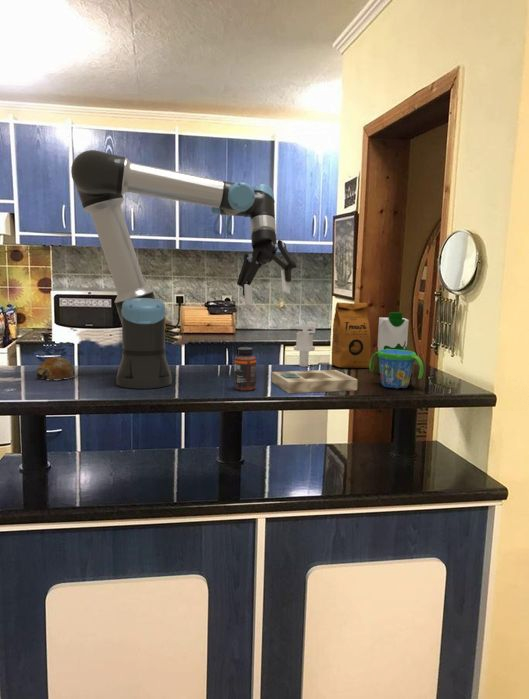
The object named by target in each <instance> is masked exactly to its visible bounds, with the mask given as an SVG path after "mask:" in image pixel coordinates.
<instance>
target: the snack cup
mask: <svg viewBox="0 0 529 699" xmlns="http://www.w3.org/2000/svg"><path fill="white" fill-rule="evenodd" d="M377 354H378V357H379V362H380V374H381V375H380V374H379V375H380V383H381V385H382V386H383V387H384V388H390V389H396V390H398V389H399V388H403V389H407V388H408V386H409V384H410V380H411V375H412V370H413V365H414V364H415V361H416V362H417V364H418V366H419V371H418V376H417V379H418V380H421V379H422V377H423V375H424V364H423V361H422V359H421V358H420V357H419V356H418V355H417V354H416V352H414V351H411V350H408V349H407V350H398V349H382V350H379V351H378V352H377V351H376V352H375V353H373V354H372V355H371V356H370V364H369V367H368V368H369V371H370V372H371V373H373V372H375V363H374V362H375V359H376V357H377Z"/></svg>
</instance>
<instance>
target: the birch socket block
mask: <svg viewBox="0 0 529 699" xmlns="http://www.w3.org/2000/svg"><path fill="white" fill-rule="evenodd" d="M271 383H273V384H274V385H275V386H277V387H278V388H280V389H281V390H283V391H285V392H286V393H287V394H304V393H324V392H327V393H328V392H329V393H330V392H349V391H358V379H357V378H355V377H352V376H350V375H349V374H346V373H344V372H341V371H339V370H336V369H323V370H321V369H320V370H290V371H287V370H286V371H272V372H271Z"/></svg>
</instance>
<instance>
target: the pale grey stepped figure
mask: <svg viewBox="0 0 529 699" xmlns="http://www.w3.org/2000/svg"><path fill="white" fill-rule="evenodd" d="M316 324H317V323H316V322H315V321H307V323H304V324H302V323H301V324H298V323H297V324H294V329H295V330H298V332H296V340H295V341H296V342H295V343H296V344H295V345H294V346H293V350H294V351H299V363H298V364H299V367H305V368H306V367H309V355H310V354H309V353H310V352H314V351H315V350H316V349H315V348H316V347H315V346H314V345H313V344H314V342H313V340H314V334H315V333H316V327H317V326H316ZM301 330H302V331H301ZM310 333H311V335H310ZM312 333H313V334H312Z"/></svg>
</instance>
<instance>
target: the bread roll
mask: <svg viewBox="0 0 529 699" xmlns="http://www.w3.org/2000/svg"><path fill="white" fill-rule="evenodd" d="M36 371H37V372H36V373H37V374H36V377H37V378H38V379H39V380H41V379H49V380H54V379H64V378H70V377H72V376H75V372H74V368H73V365H72V362H71V361H70V360H69V359H66V358H65V357H61V356H51V357H49V358H47V359H45V360H44V361H43V362H41V364H40V365H39V366H38V367H37V368H36Z"/></svg>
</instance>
